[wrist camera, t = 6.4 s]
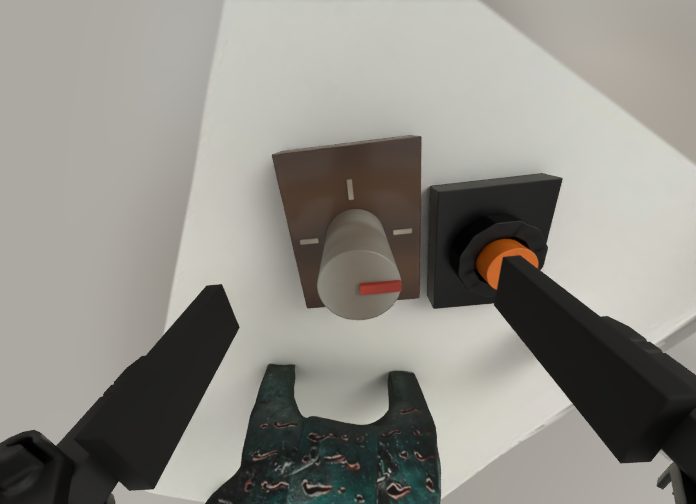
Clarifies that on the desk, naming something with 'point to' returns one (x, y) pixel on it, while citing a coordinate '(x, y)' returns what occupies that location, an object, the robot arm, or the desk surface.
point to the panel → (353, 201)
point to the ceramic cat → (336, 451)
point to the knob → (357, 267)
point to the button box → (483, 231)
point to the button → (500, 258)
